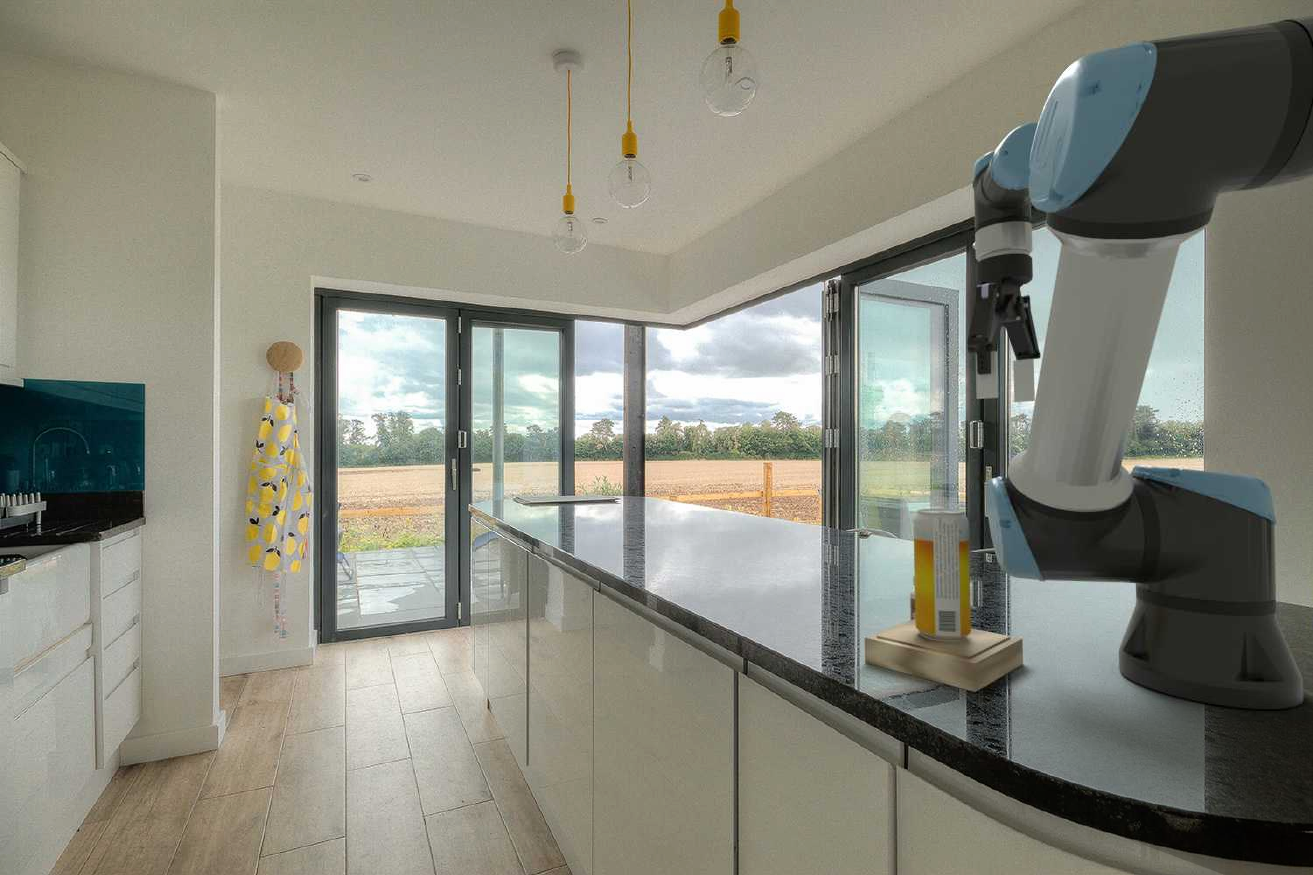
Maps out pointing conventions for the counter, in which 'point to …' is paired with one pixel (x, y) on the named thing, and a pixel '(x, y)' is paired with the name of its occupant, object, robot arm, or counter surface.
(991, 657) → the podium
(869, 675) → the counter surface
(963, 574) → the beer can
